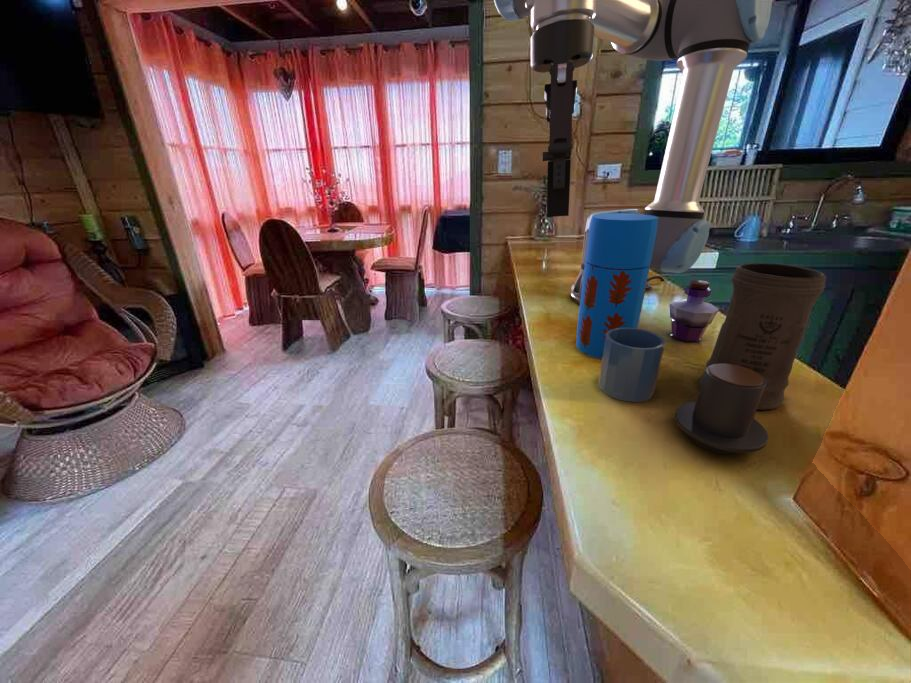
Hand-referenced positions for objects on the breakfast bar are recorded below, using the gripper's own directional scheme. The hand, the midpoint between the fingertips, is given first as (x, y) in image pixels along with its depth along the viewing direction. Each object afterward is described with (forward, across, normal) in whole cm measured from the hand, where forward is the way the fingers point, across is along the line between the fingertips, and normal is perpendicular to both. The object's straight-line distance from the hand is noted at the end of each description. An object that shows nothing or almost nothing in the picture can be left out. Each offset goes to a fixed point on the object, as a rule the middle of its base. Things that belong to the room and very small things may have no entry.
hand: (556, 210), depth 54 cm
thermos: (+28, -13, +10) cm, 32 cm away
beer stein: (+29, -2, +29) cm, 41 cm away
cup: (+28, +2, +12) cm, 30 cm away
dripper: (+28, +14, +21) cm, 38 cm away
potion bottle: (+29, -21, +27) cm, 45 cm away
